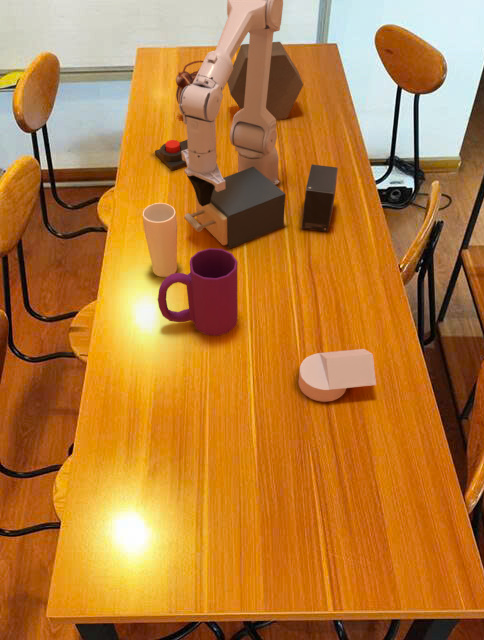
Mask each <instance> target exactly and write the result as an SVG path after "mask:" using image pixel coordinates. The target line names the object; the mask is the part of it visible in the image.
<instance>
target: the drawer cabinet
mask: <svg viewBox="0 0 484 640" xmlns="http://www.w3.org/2000/svg"><path fill="white" fill-rule="evenodd" d="M222 178H223V179H224V180H225V188H226V189H224V190H222V191H219V192H217V191H216V190H215V188H214V190H213V193H212V197H211V201H210V202H211V203H212V204H213V205H215V206H216V207H217V208H218V209H219V210H220V211H221V212H222V213H223V214H224V215H225V216H226V217H227V234H228V244H226V245H225V246H226V248H228V249H229V250H230V249H233V248H234V247H237V246H239V245H242V244H244V243H247V242H249V241H252V240H254V239H256V238H259V237H262V236H264V235H267V234H269V233H271V232H273V231H276V230H279V229H281V228H283V227H284V225H285V208H286V192H284V191H283V190H282V189H281V188H280V187H278V186H277V184H276V185H275V184H274V183H272V182H271V181H270V180H269V179H268V178H266V177H265V176H264V175H263V174H262V173H260V172H259V171H258V170H257V169H256V168H255V167H251V168H248V169H246V170H243V171H240V172H238V171H237V172H234V173H231V174H230V175H227V176H224V177H222Z"/></svg>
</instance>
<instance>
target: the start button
mask: <svg viewBox="0 0 484 640" xmlns="http://www.w3.org/2000/svg"><path fill="white" fill-rule="evenodd" d="M179 142H180V141H178V140H176V139H170V140H167V141H166V142H165V143H166V144H165V143H164V144H165V145H166V152H168V153H177V152H179V151H180V143H179Z"/></svg>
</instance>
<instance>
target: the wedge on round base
mask: <svg viewBox="0 0 484 640" xmlns="http://www.w3.org/2000/svg"><path fill="white" fill-rule="evenodd" d="M298 372H299V374H298V387H299V389H300V391H301V392H302V394H303V395H305V397H307V398H309V399H311V400H314V401H317V402H322V403H323V402H324V403H326V402H327V403H329V402H332V401H336V400H338V399H339V398H341V397H342V396H343V395H344V394H345V393H346V391H347V389H350V388H359V387H370V386H377V380H376V378H377V377H376V370H375V361H374V354H373V353H372V352H370V351H368V350H367V349H366V348H356V349H347V350H336V351H327V352H326V351H325V352H317V353H313V354H311V355H307V357H305V358H304V359H303V360H302V361H301V364H300V366H299V371H298Z"/></svg>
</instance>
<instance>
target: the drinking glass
mask: <svg viewBox="0 0 484 640" xmlns="http://www.w3.org/2000/svg"><path fill="white" fill-rule="evenodd" d="M142 223H143V231H144V236H145V240H146V244H147V248H148V253H149V257H150V261H151V262H150V263H151V269H152V272H153V273H154V274H155V276H157V277H159V278H166V277H168V276H169V275H171V274H175V273H177V272H178V271H177V270H178V219H177V212H176V209H175V208H174V206H173V205H171V204H170V203H169V204H168V203H165V202H155V203H151V204H149V205H148V206H146V207H145V208H143V210H142Z"/></svg>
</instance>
